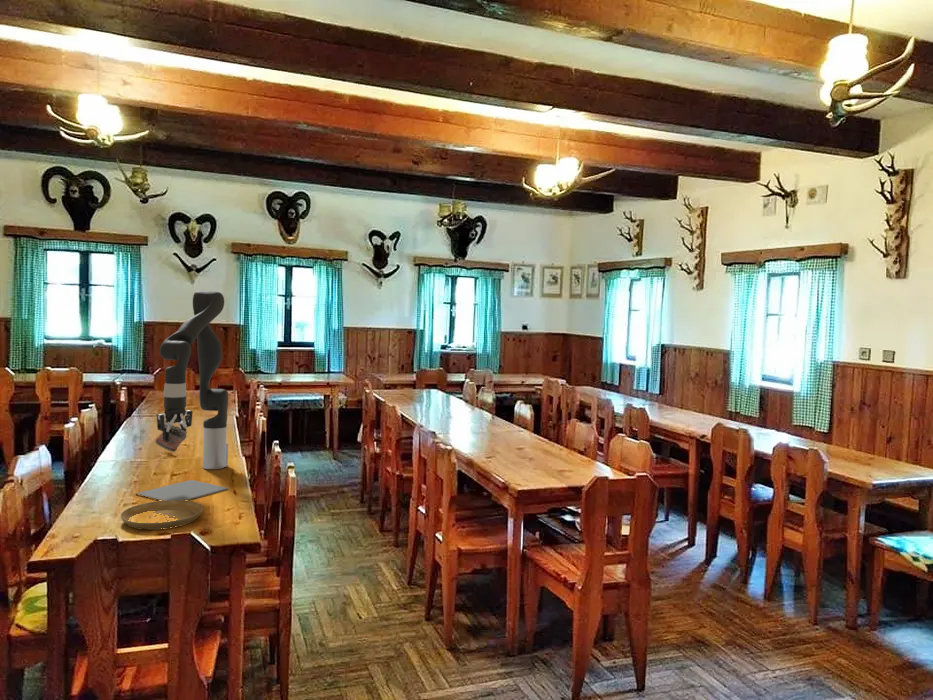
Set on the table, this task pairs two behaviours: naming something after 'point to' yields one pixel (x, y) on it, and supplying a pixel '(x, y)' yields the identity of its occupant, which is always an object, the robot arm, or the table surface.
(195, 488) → the mat
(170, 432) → the lighter
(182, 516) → the plant saucer
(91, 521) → the table surface
